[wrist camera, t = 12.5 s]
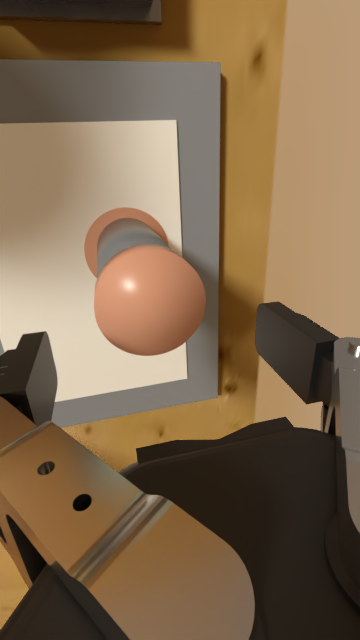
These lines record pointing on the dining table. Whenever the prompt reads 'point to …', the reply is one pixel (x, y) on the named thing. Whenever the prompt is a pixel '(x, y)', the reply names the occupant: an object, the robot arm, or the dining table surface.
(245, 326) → the dining table surface
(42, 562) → the robot arm
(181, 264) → the grey cylindrical piece
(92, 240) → the drawing board
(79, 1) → the button housing
